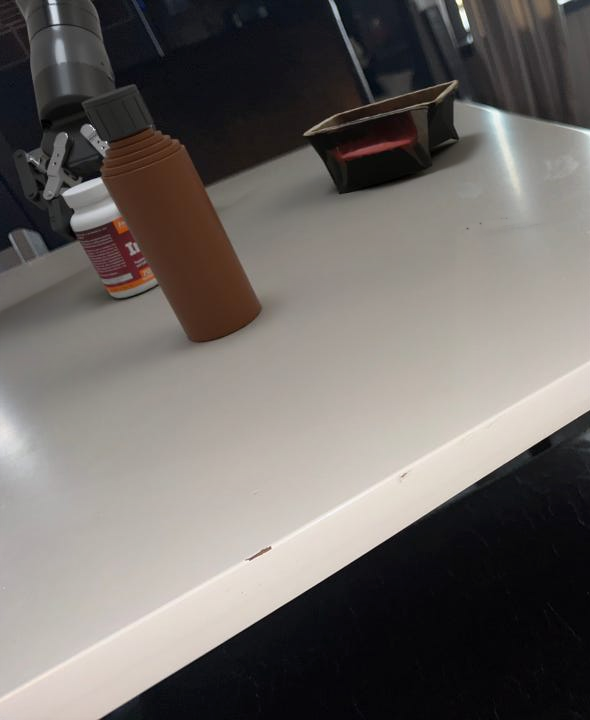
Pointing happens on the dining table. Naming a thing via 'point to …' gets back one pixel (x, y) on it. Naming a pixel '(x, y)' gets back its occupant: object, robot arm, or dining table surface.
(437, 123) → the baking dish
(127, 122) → the cap
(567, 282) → the dining table surface
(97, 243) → the pill bottle
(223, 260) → the sauce bottle
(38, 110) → the robot arm
